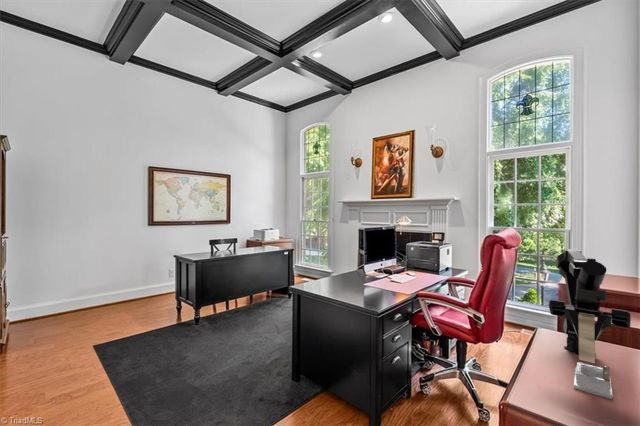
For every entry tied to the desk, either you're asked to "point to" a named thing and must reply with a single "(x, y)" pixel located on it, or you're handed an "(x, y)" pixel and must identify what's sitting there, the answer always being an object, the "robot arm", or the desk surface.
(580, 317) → the tan wooden block
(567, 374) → the desk surface
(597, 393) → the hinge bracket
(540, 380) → the desk surface
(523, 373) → the desk surface
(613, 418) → the desk surface
